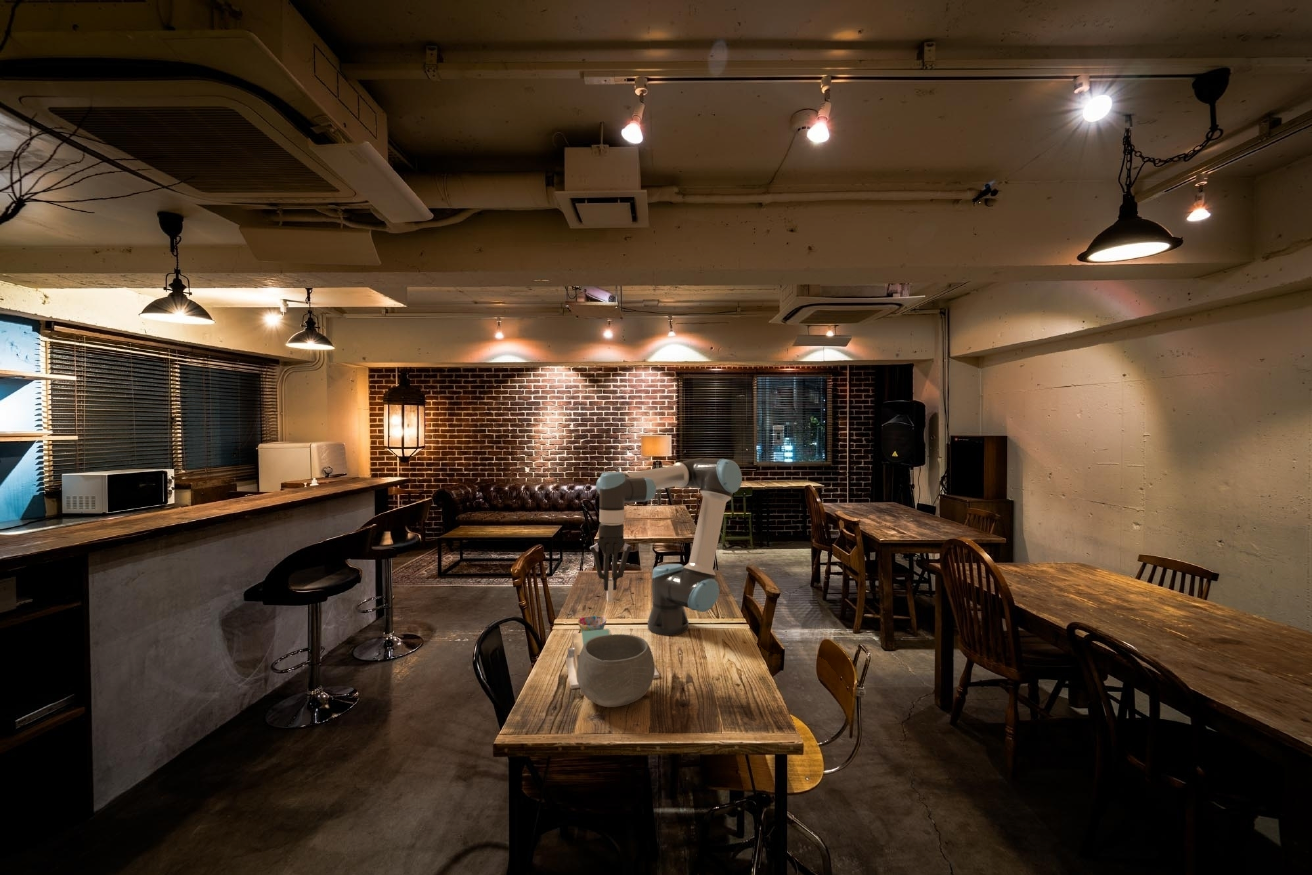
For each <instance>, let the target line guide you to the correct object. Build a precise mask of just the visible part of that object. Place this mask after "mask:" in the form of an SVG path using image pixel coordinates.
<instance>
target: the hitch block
mask: <svg viewBox="0 0 1312 875" xmlns="http://www.w3.org/2000/svg"><path fill="white" fill-rule="evenodd" d="M571 635H572V639H571V640H572V643H571V645H572V647H574V657H571V658H568V657H566V658H565V665H566V670H567V676H568V680H569V686H570V689H580V686H579V684H578V680H577V665H578V659H579V655H580V652H581V650H582V648H583V639H582V633H581V632H577V633H572V634H571ZM609 635H613V634H612V632H611V630H610V629H609ZM572 647H571V648H572ZM659 678H660V673H659V672H658V670H657V667H656V666H655V673H654V677H653V680H654V679H659Z"/></svg>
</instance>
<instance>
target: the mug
mask: <svg viewBox="0 0 1312 875" xmlns="http://www.w3.org/2000/svg"><path fill="white" fill-rule="evenodd" d="M606 623H607V618H605V617H604V616H600V615H589V616H588V615H587V616H583V617H581V618H579V619H578V621H577V624H578V626H579V629H580V633H582V632H583V631H593V630H603V629H604V628H605V626H606Z"/></svg>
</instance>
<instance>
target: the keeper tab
mask: <svg viewBox="0 0 1312 875" xmlns="http://www.w3.org/2000/svg"><path fill="white" fill-rule="evenodd" d="M609 630H610V629H609V628H606V629H603V630H593V631H583V632H582V639H583V646H584V644H585V643H586V642H587V641H588V640H589V639H591V638H594V637H596V636H603V635H609Z"/></svg>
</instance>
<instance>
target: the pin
mask: <svg viewBox="0 0 1312 875" xmlns="http://www.w3.org/2000/svg"><path fill="white" fill-rule="evenodd" d="M572 657H574V647H568V648H567V658H572Z"/></svg>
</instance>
